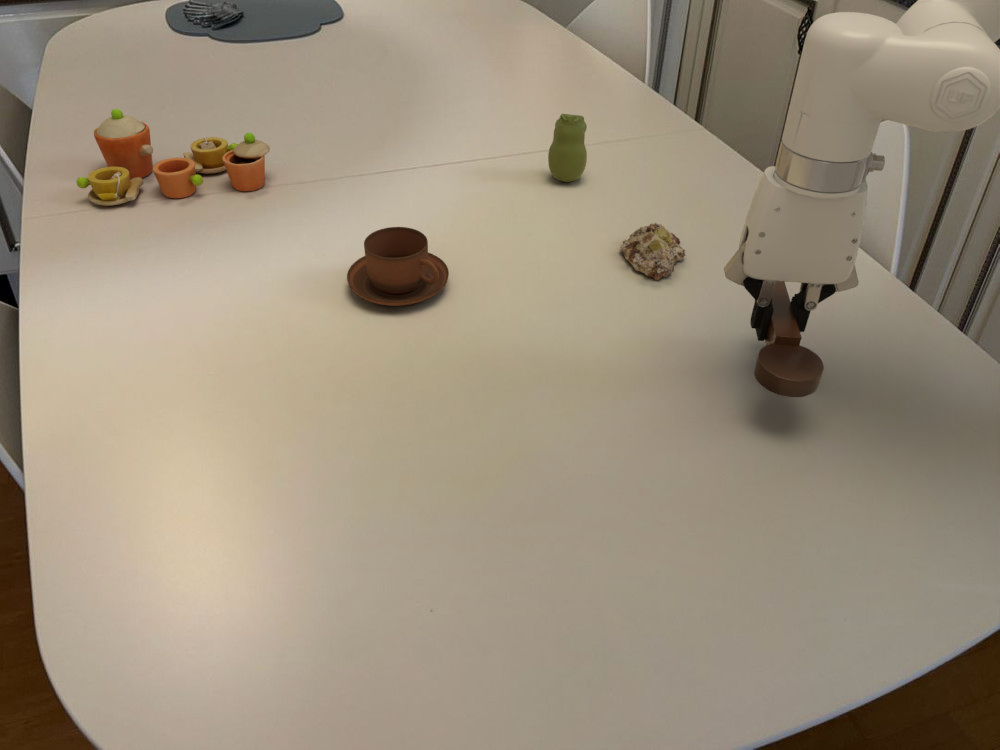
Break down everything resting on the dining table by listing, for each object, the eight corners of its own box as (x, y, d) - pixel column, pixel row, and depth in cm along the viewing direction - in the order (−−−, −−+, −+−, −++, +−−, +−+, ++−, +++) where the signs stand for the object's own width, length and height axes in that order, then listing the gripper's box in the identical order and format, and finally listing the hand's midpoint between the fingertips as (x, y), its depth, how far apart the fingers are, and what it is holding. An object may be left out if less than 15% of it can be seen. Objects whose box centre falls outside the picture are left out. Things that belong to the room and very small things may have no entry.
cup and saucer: (461, 269, 106) (461, 225, 102) (429, 322, 97) (427, 276, 93) (371, 255, 108) (367, 211, 104) (332, 305, 99) (325, 259, 95)
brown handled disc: (824, 400, 79) (832, 374, 77) (758, 395, 79) (765, 369, 77) (794, 302, 92) (800, 278, 90) (737, 298, 92) (742, 274, 90)
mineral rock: (616, 220, 111) (679, 208, 110) (622, 248, 114) (683, 237, 112) (618, 265, 103) (686, 253, 101) (625, 295, 106) (690, 283, 104)
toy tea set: (79, 213, 116) (57, 146, 110) (94, 166, 128) (75, 102, 122) (275, 195, 121) (265, 130, 115) (272, 151, 133) (262, 89, 127)
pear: (544, 185, 125) (547, 118, 118) (551, 170, 129) (554, 105, 122) (582, 189, 124) (587, 123, 117) (587, 174, 128) (593, 109, 121)
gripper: (902, 153, 78) (847, 319, 89) (723, 142, 79) (692, 308, 90) (926, 189, 72) (864, 362, 83) (733, 177, 73) (697, 350, 84)
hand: (775, 333), depth 87 cm, fingers closed on brown handled disc, 2 cm apart
